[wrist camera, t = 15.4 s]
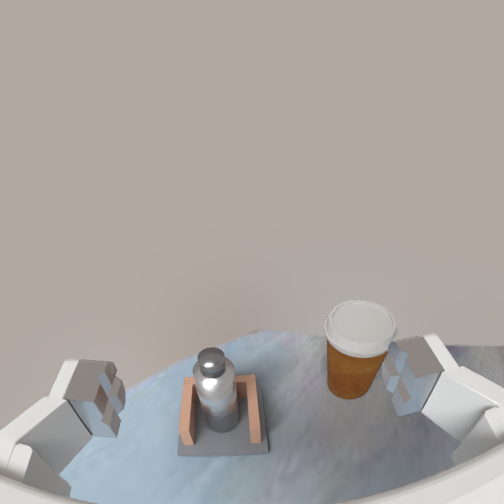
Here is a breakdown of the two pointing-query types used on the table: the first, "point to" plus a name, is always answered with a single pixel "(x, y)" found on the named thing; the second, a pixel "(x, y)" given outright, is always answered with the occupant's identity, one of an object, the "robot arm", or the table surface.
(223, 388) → the silver water flask
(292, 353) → the table surface
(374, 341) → the disposable coffee cup
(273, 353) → the table surface
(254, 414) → the dock
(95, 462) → the table surface
